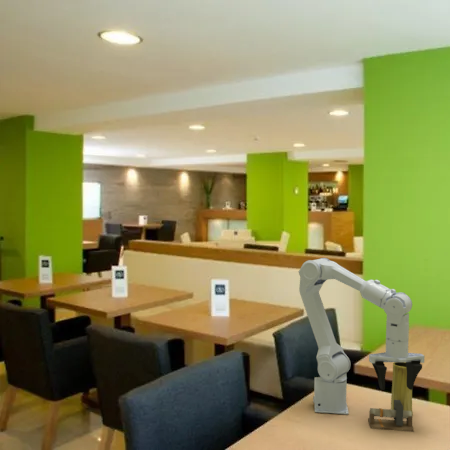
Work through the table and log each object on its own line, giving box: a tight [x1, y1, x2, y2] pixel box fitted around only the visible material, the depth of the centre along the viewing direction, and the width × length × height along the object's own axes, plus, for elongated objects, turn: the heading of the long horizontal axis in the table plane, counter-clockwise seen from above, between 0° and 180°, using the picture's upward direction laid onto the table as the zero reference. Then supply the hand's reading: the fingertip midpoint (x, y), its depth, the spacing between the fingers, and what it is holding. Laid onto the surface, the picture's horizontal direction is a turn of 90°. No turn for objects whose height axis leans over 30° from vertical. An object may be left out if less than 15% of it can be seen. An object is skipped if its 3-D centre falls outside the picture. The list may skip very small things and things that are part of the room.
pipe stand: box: [367, 407, 414, 432], centre depth 134 cm, size 11×5×4 cm, turn 81°
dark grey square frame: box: [393, 400, 404, 426], centre depth 134 cm, size 2×4×5 cm, turn 171°
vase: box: [390, 362, 414, 416], centre depth 142 cm, size 6×6×14 cm
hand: (395, 388), depth 134 cm, fingers open, 7 cm apart
